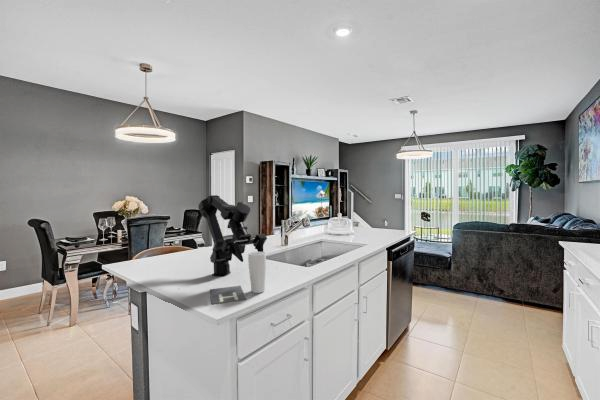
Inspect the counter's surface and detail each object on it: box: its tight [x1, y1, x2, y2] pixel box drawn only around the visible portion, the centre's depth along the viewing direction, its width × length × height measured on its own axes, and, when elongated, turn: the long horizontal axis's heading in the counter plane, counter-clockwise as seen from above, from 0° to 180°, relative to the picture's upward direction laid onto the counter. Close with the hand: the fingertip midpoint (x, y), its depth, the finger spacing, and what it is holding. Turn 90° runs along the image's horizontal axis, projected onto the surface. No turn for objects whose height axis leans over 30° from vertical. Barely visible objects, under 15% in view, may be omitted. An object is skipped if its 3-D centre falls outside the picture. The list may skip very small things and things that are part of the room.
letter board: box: [209, 285, 247, 305], centre depth 112 cm, size 16×12×1 cm
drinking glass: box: [247, 251, 267, 294], centre depth 115 cm, size 7×7×15 cm
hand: (252, 259), depth 117 cm, fingers open, 9 cm apart
